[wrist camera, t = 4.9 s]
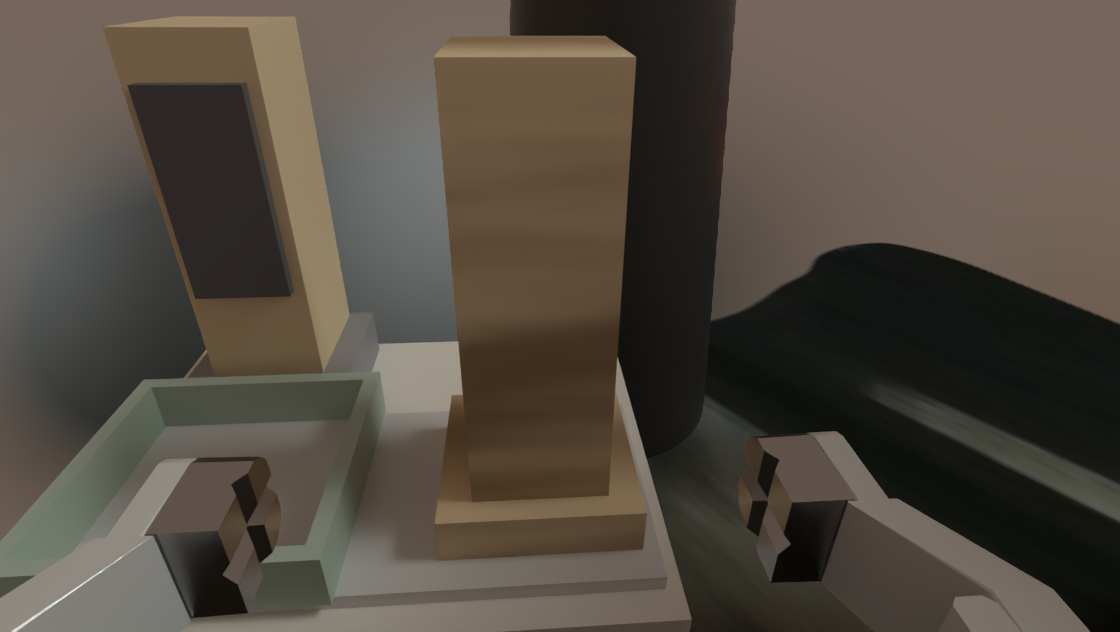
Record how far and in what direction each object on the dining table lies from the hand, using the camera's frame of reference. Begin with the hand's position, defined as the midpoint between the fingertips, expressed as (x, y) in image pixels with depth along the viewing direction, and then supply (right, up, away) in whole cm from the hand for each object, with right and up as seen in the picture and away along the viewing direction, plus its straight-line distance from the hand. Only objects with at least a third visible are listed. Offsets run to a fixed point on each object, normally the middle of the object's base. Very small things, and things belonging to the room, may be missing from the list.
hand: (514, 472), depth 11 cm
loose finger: (0, -3, +10) cm, 11 cm away
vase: (+4, -3, +32) cm, 33 cm away
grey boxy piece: (-6, -11, +17) cm, 21 cm away
